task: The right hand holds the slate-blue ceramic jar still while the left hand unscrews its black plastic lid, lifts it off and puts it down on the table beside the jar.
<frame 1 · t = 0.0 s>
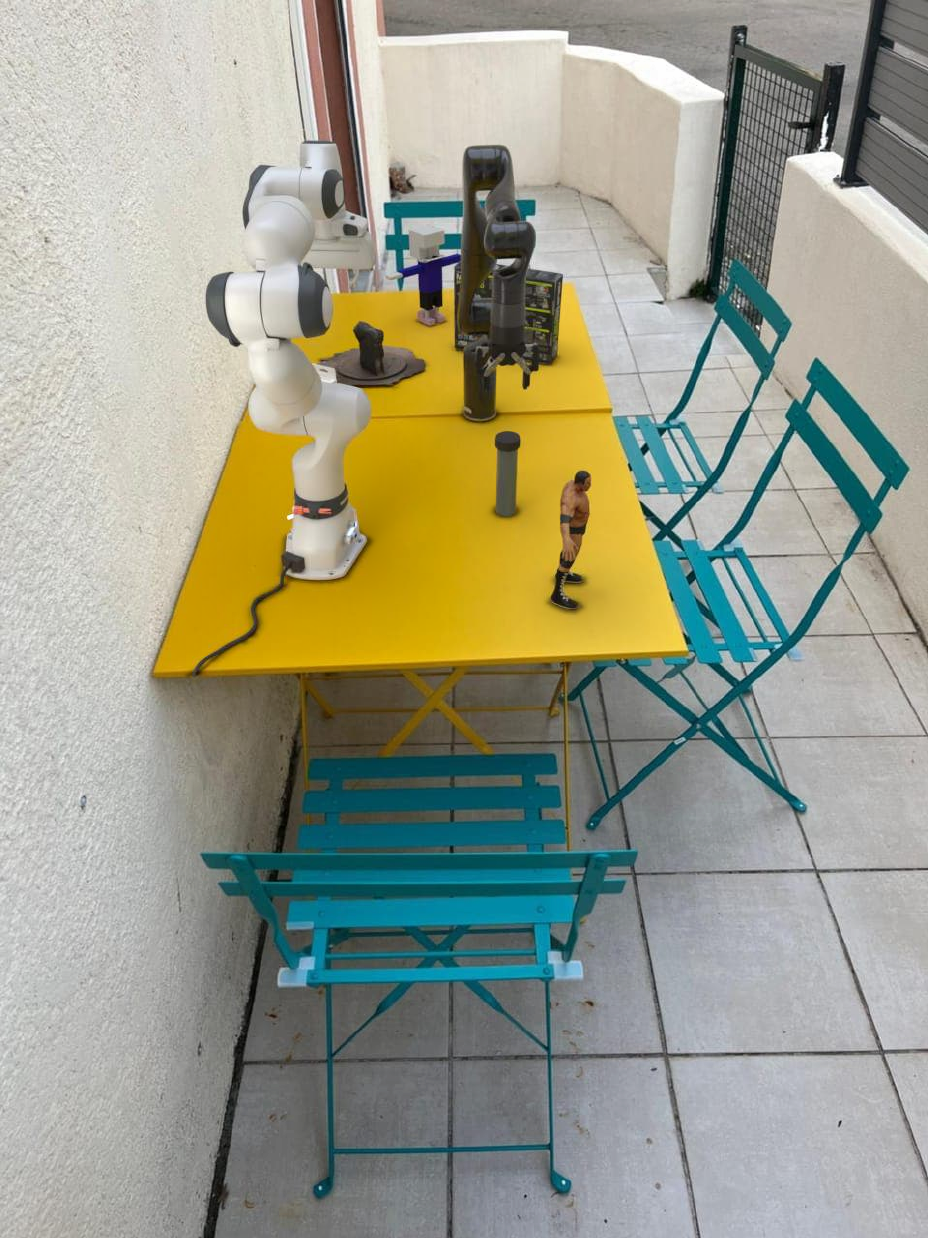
left hand: (332, 287, 199), 48 cm above the table, tool pointing down, fingers open, 8 cm apart
right hand: (505, 389, 202), 29 cm above the table, tool pointing down, fingers open, 8 cm apart
toy: (430, 321, 308), on the table
box: (505, 353, 287), on the table
lid: (507, 438, 203), point 20 cm above the table, screwed on, not yet turned
sculpture: (369, 368, 279), on the table
figurine: (567, 592, 192), on the table
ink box: (324, 417, 254), on the table
jar: (505, 510, 216), on the table
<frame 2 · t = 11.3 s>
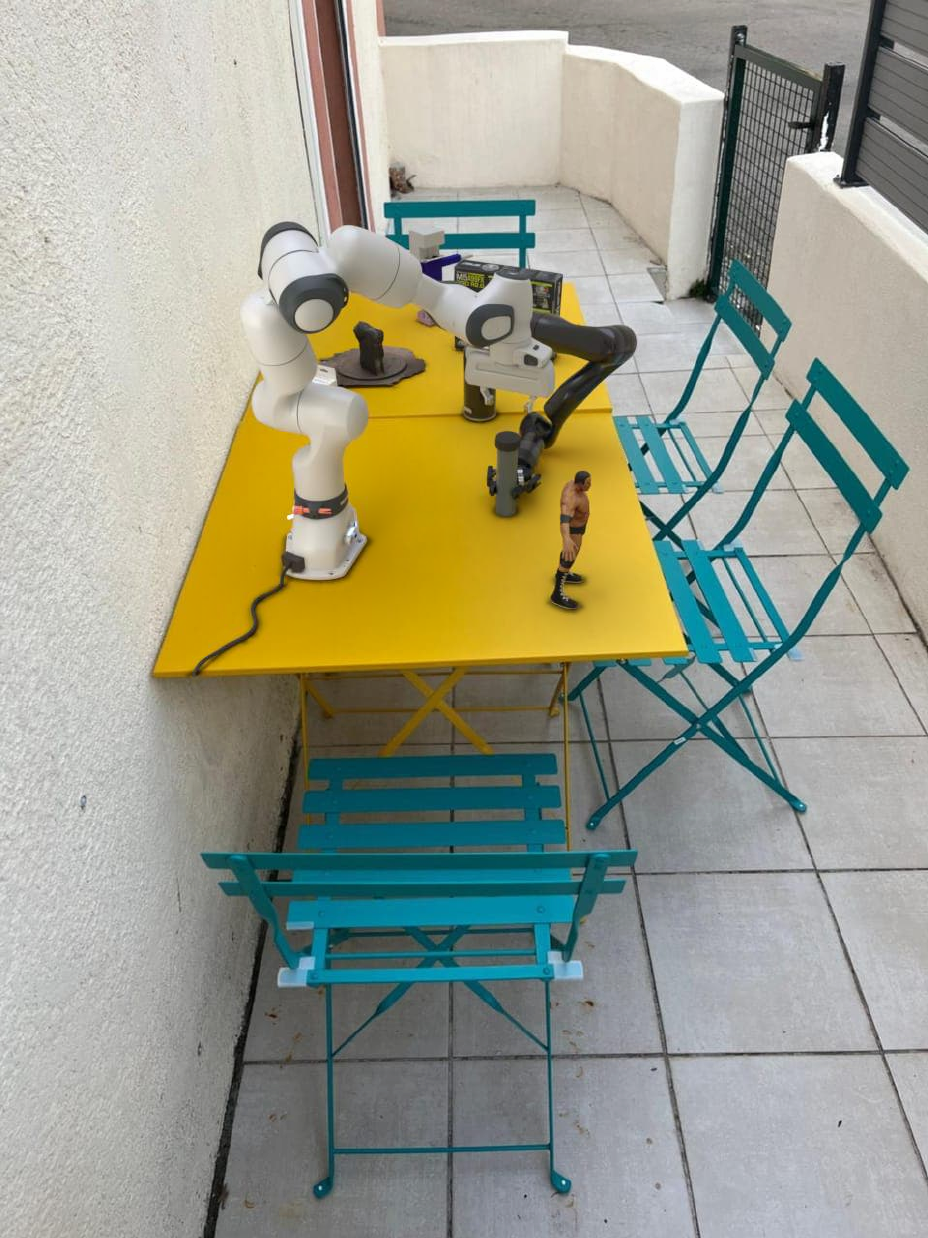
left hand: (508, 407, 198), 27 cm above the table, tool pointing down, fingers open, 8 cm apart
right hand: (503, 494, 210), 6 cm above the table, tool horizontal, fingers closed on jar, 5 cm apart
jar: (505, 510, 216), on the table, touching right hand
everything else where it was.
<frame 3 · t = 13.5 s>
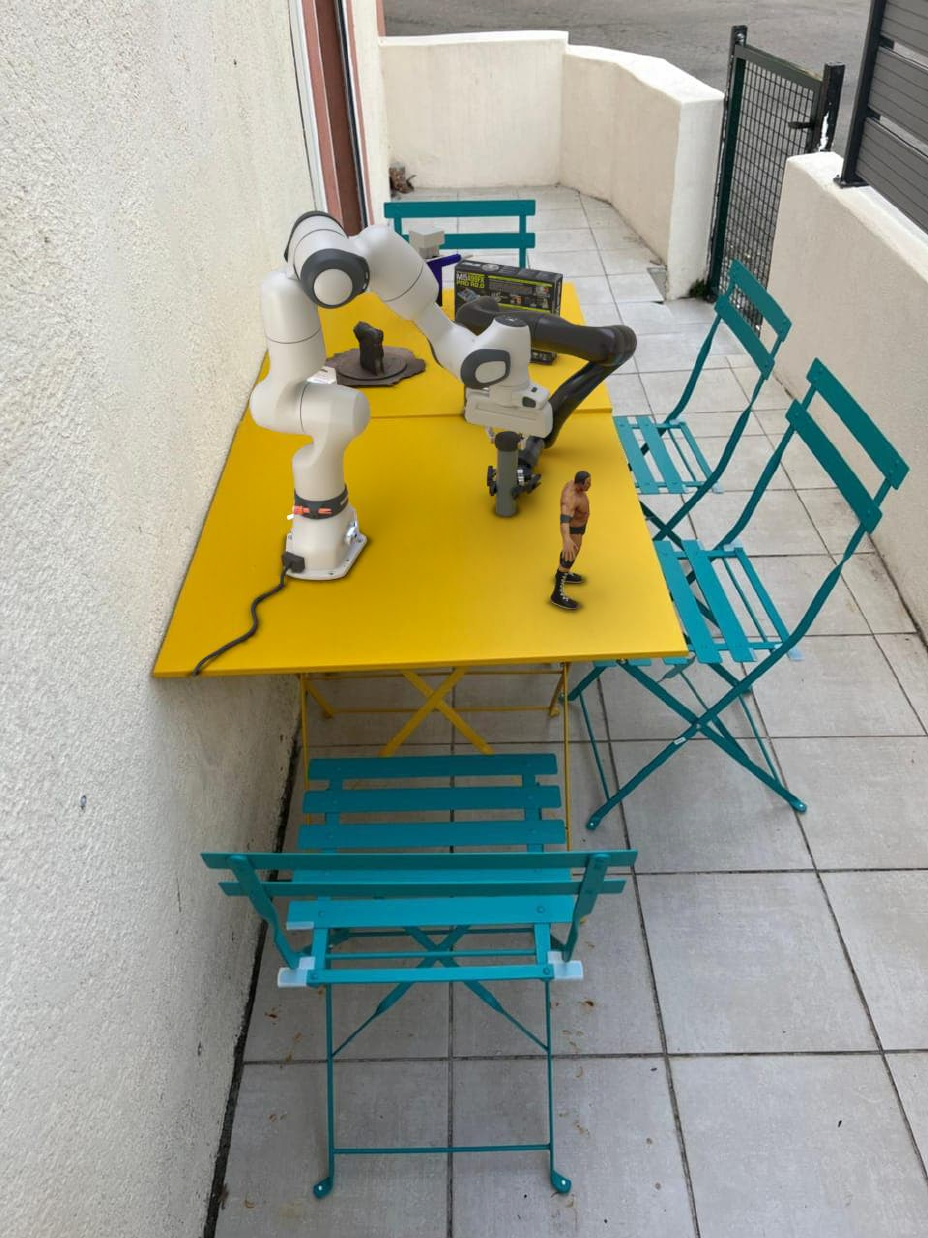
left hand: (507, 445, 205), 18 cm above the table, tool pointing down, fingers closed on lid, 5 cm apart
right hand: (503, 494, 210), 6 cm above the table, tool horizontal, fingers closed on jar, 5 cm apart
lid: (507, 438, 203), point 20 cm above the table, screwed on, not yet turned, touching left hand
jar: (505, 510, 216), on the table, touching right hand
everything else where it was.
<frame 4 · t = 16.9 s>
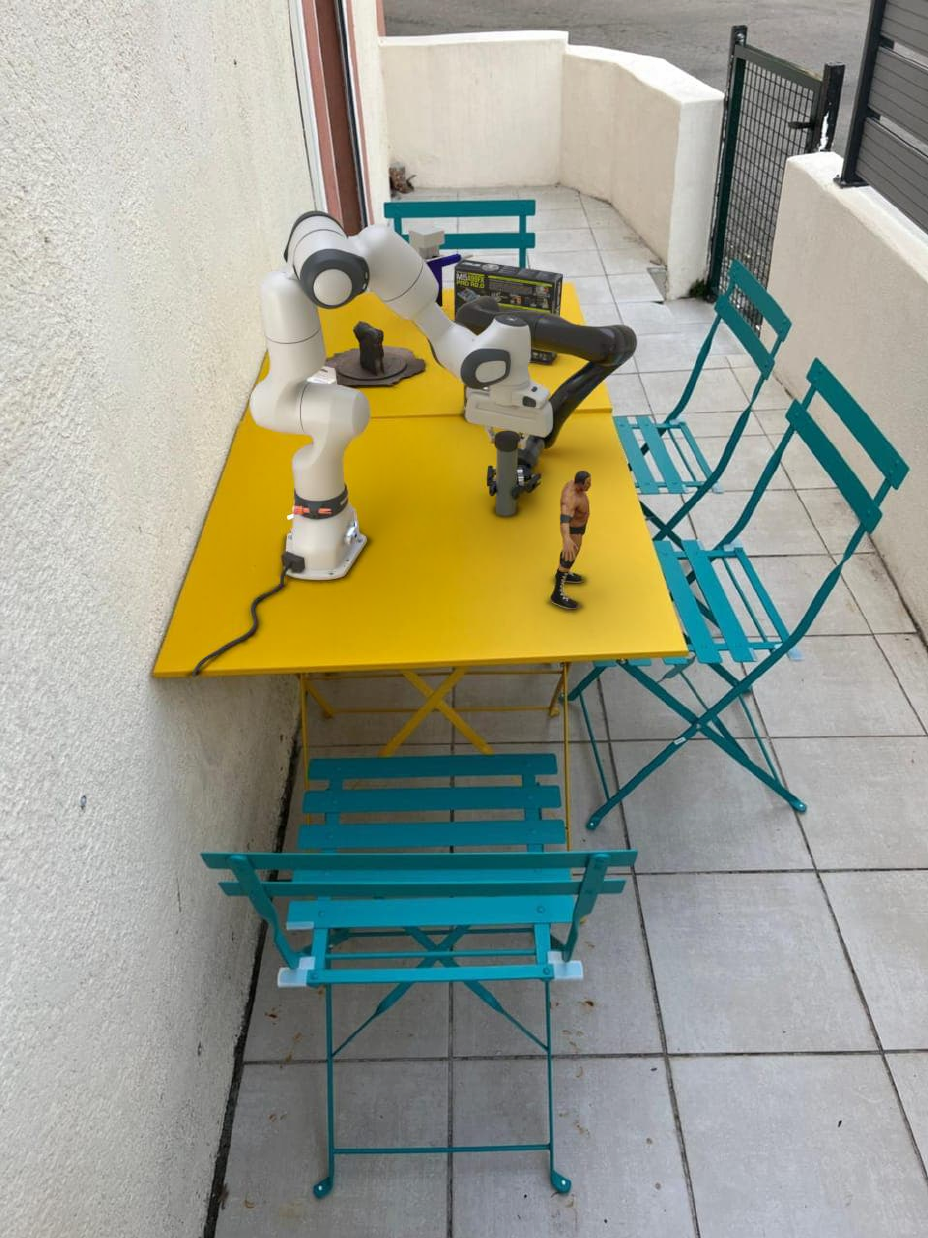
left hand: (507, 445, 205), 18 cm above the table, tool pointing down, fingers closed on lid, 5 cm apart
right hand: (503, 494, 210), 6 cm above the table, tool horizontal, fingers closed on jar, 5 cm apart
lid: (507, 437, 203), point 20 cm above the table, turned 99° so far, risen 0.1 cm, still on its thread, touching left hand
jar: (505, 510, 216), on the table, touching right hand
everything else where it was.
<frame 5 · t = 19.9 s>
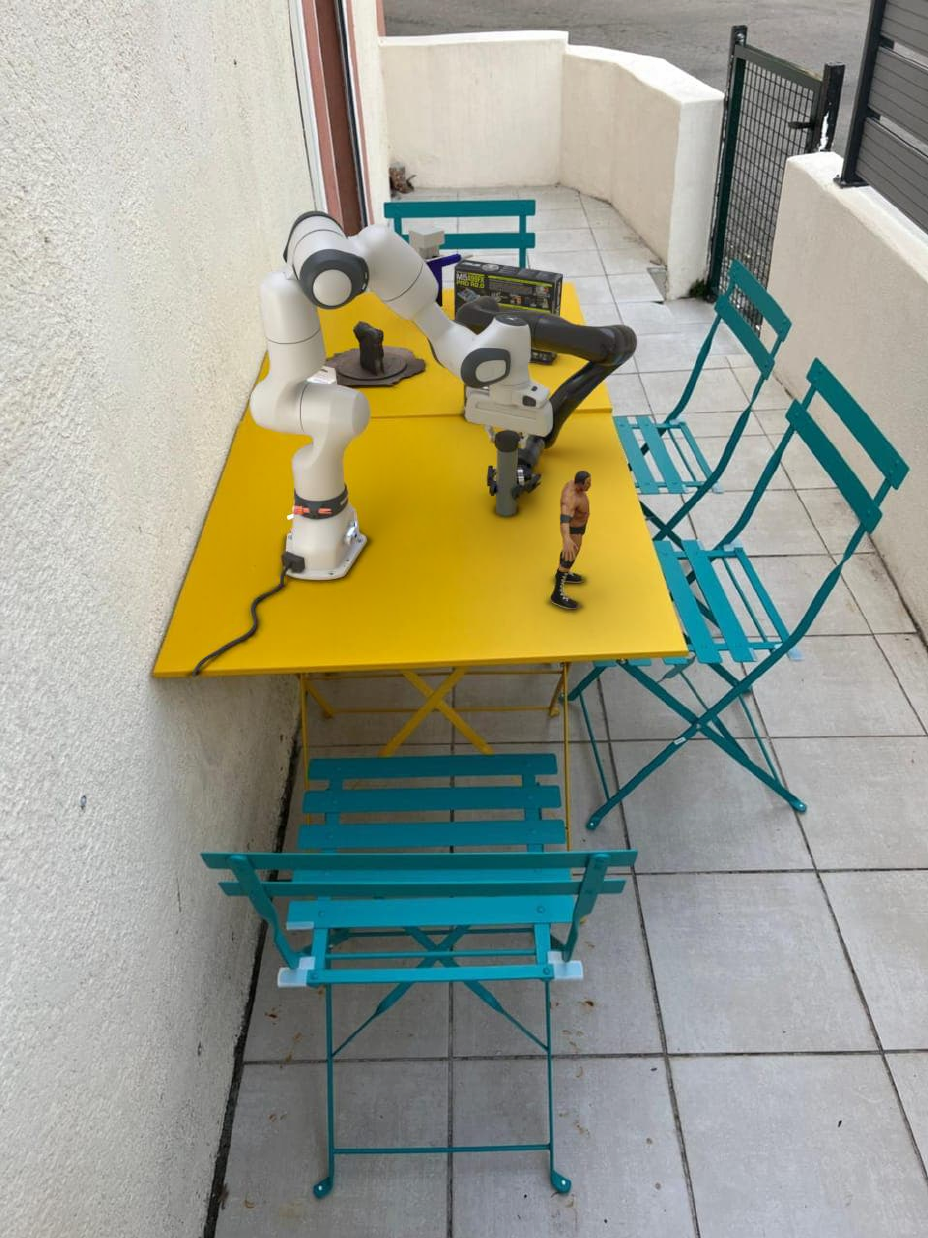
left hand: (507, 444, 204), 18 cm above the table, tool pointing down, fingers closed on lid, 5 cm apart
right hand: (503, 494, 210), 6 cm above the table, tool horizontal, fingers closed on jar, 5 cm apart
lid: (507, 437, 203), point 20 cm above the table, turned 198° so far, risen 0.3 cm, still on its thread, touching left hand
jar: (506, 510, 216), on the table, touching right hand
everything else where it was.
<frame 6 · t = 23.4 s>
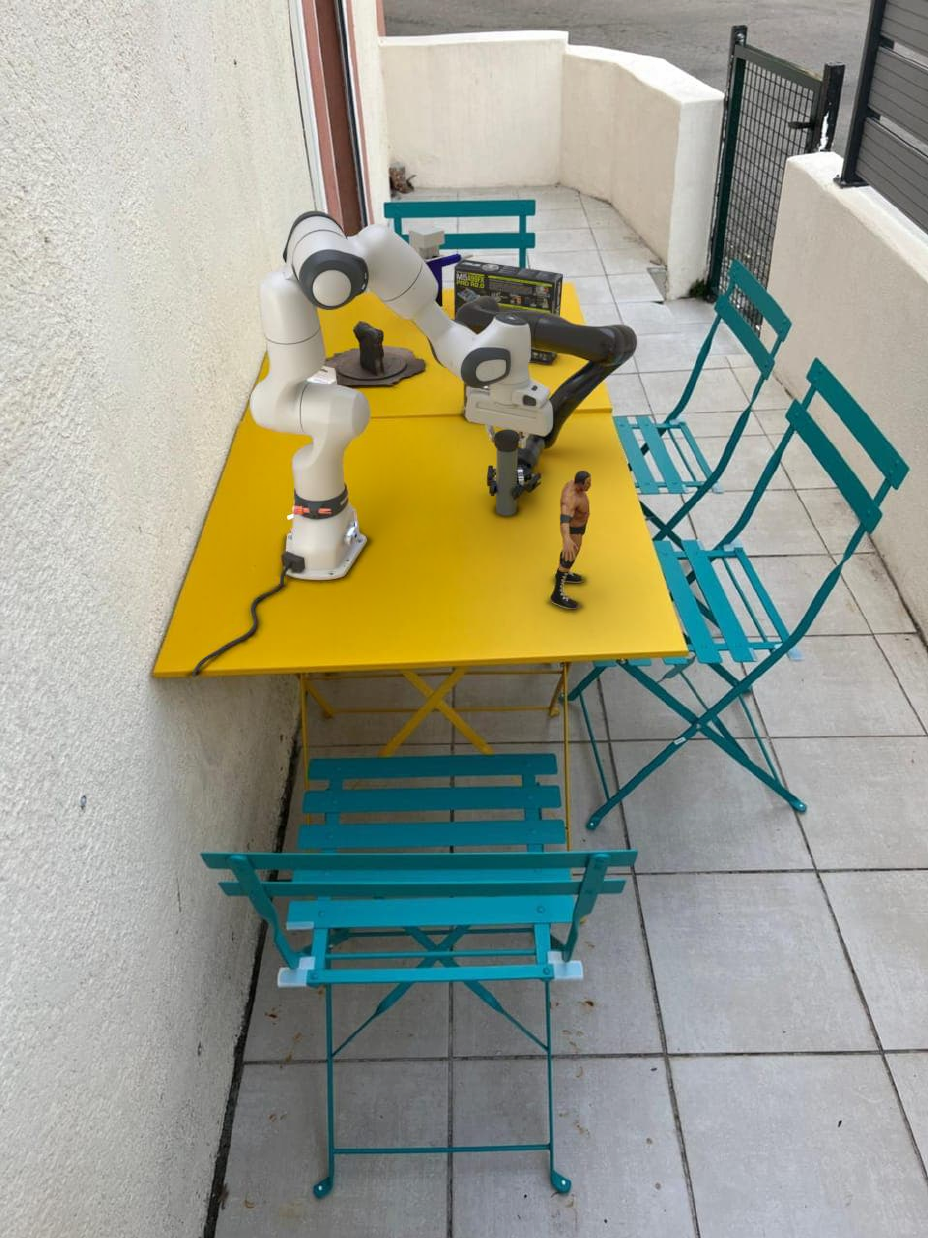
left hand: (507, 444, 204), 18 cm above the table, tool pointing down, fingers closed on lid, 5 cm apart
right hand: (503, 494, 210), 6 cm above the table, tool horizontal, fingers closed on jar, 5 cm apart
lid: (507, 437, 203), point 20 cm above the table, turned 298° so far, risen 0.4 cm, still on its thread, touching left hand
jar: (506, 510, 216), on the table, touching right hand
everything else where it was.
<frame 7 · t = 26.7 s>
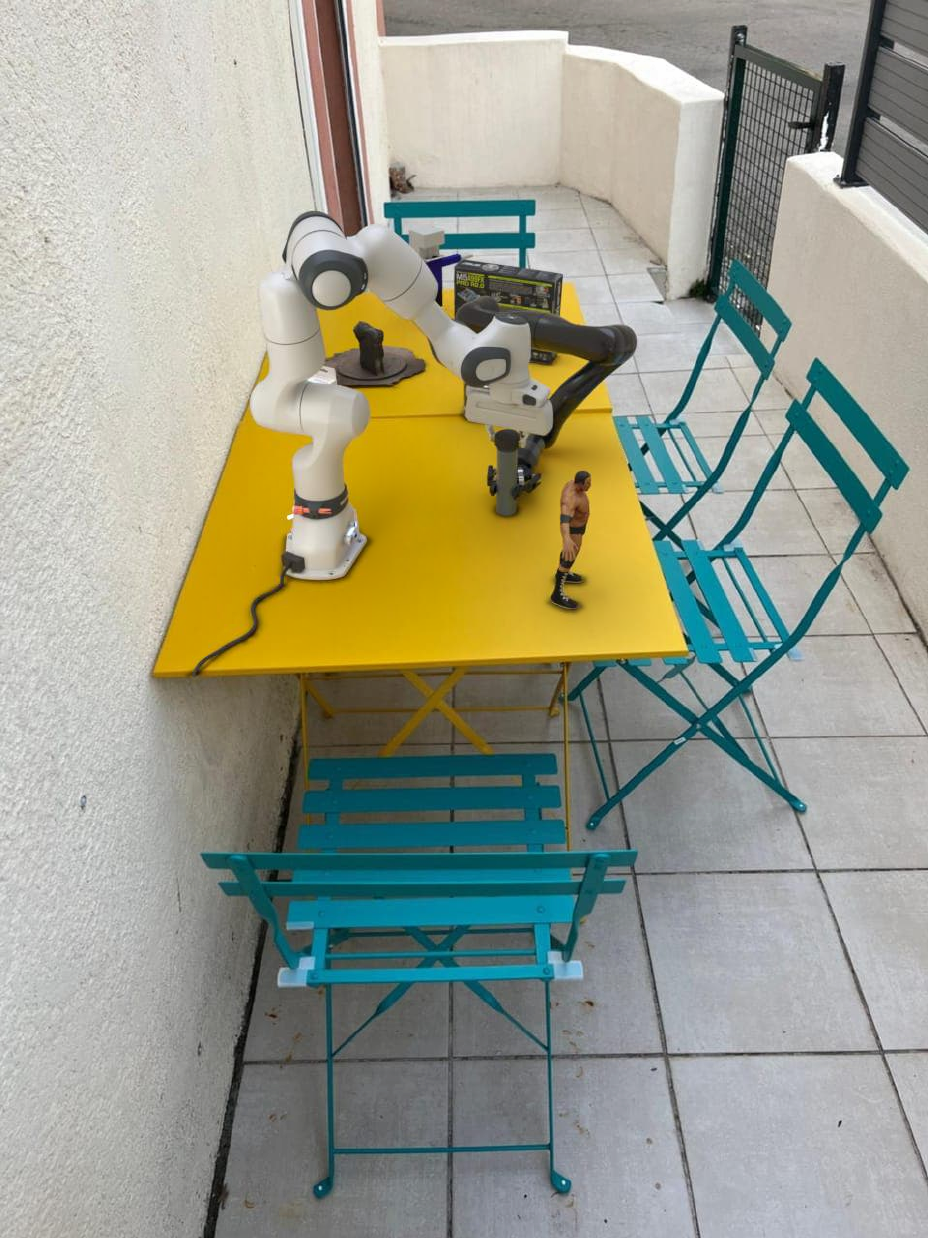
left hand: (507, 443, 204), 18 cm above the table, tool pointing down, fingers closed on lid, 5 cm apart
right hand: (503, 494, 210), 6 cm above the table, tool horizontal, fingers closed on jar, 5 cm apart
lid: (507, 436, 203), point 20 cm above the table, turned 397° so far, risen 0.5 cm, still on its thread, touching left hand
jar: (506, 510, 216), on the table, touching right hand
everything else where it was.
when the left hand's fingers open (2 cm above the table, at t = 33.8 s): lid drops 2 cm, point 2 cm above the table.
when the right hand's fingers open (6 cm above the table, at t = 34.8 s): jar stays where it is, on the table.
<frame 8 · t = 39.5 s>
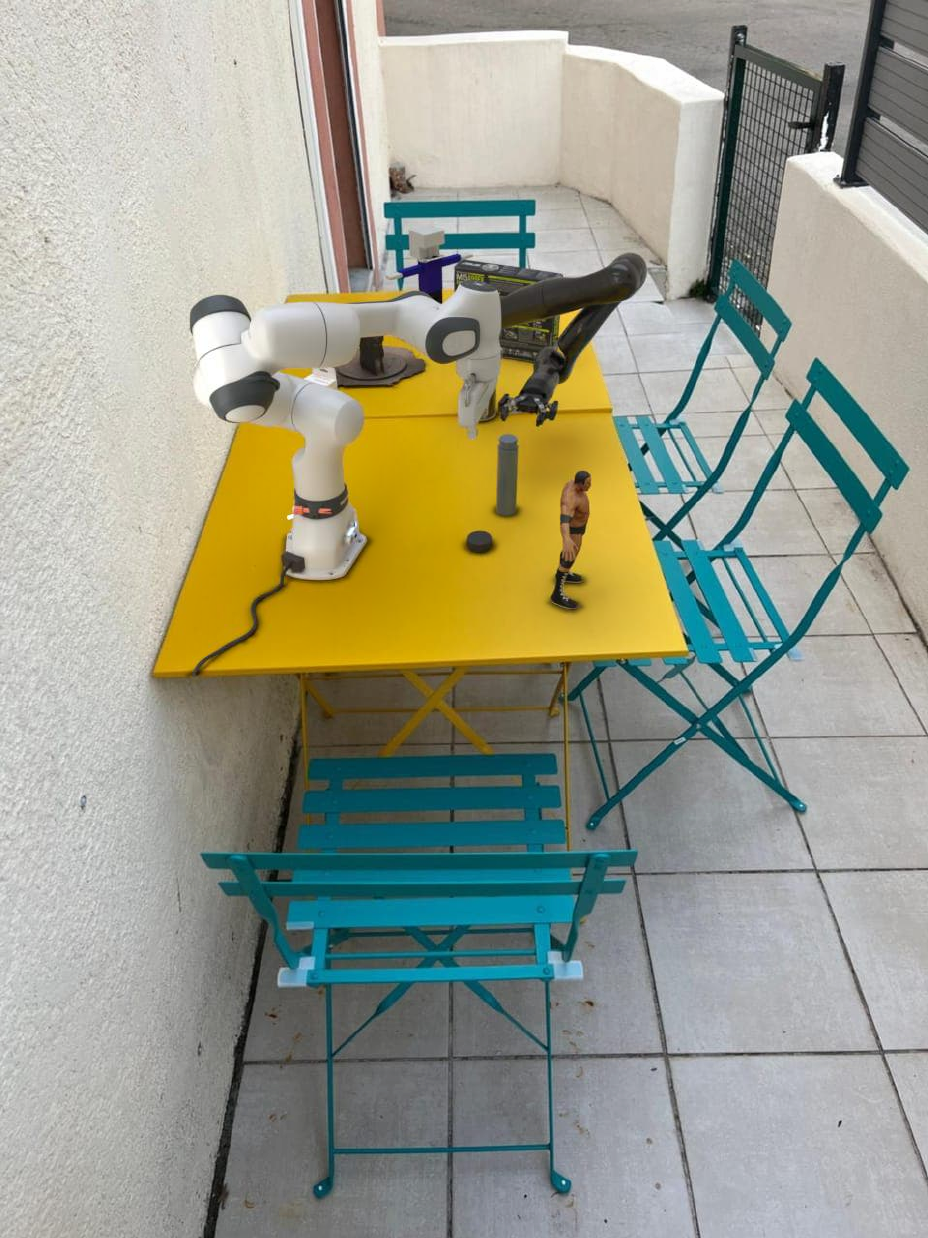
left hand: (478, 426, 185), 31 cm above the table, tool pointing down, fingers open, 8 cm apart
right hand: (520, 420, 212), 19 cm above the table, tool horizontal, fingers open, 8 cm apart
lid: (479, 538, 204), point 2 cm above the table, off its thread
jar: (506, 510, 216), on the table
everything else where it was.
at the end: lid came off its thread; lid point 1.9 cm above the table; the left hand is holding nothing; the right hand is holding nothing; jar tilted 0°; jar moved 0.2 cm from its start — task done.
